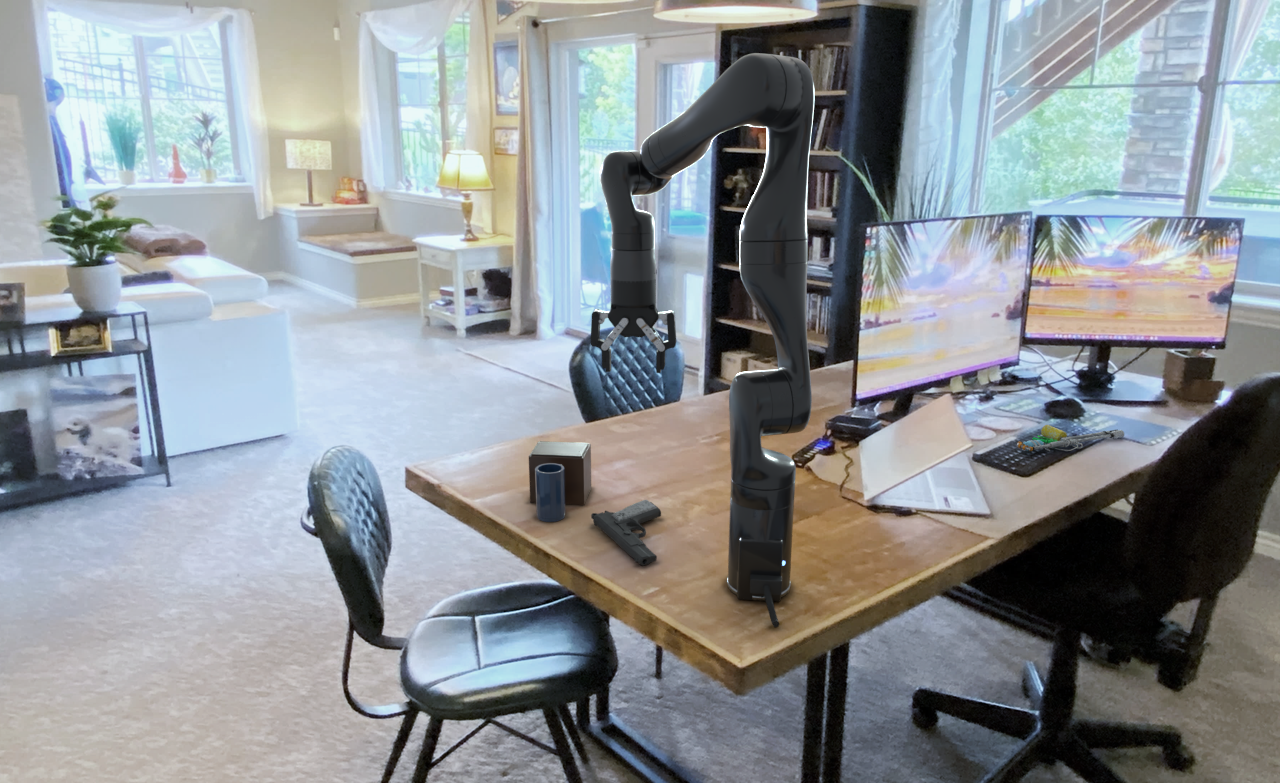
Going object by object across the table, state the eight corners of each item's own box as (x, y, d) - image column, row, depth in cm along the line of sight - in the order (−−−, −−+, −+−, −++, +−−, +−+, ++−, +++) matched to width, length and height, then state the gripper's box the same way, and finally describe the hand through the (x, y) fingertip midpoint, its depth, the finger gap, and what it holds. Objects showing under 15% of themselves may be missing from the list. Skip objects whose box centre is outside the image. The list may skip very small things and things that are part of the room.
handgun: (647, 509, 165) (586, 522, 160) (647, 497, 164) (586, 509, 159) (702, 554, 150) (637, 570, 144) (703, 541, 149) (637, 556, 143)
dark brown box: (584, 505, 167) (583, 457, 165) (530, 502, 168) (528, 454, 166) (591, 488, 175) (590, 442, 172) (539, 486, 176) (538, 440, 173)
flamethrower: (998, 443, 198) (1034, 460, 190) (1000, 431, 198) (1037, 448, 189) (1093, 427, 211) (1132, 443, 202) (1095, 416, 210) (1134, 431, 201)
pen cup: (562, 522, 160) (561, 474, 158) (534, 521, 161) (532, 472, 158) (567, 511, 165) (566, 463, 162) (540, 509, 165) (538, 462, 163)
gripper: (587, 278, 149) (588, 376, 154) (675, 279, 148) (674, 378, 152) (593, 272, 156) (595, 365, 161) (677, 273, 155) (676, 367, 160)
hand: (633, 371), depth 157 cm, fingers open, 8 cm apart
